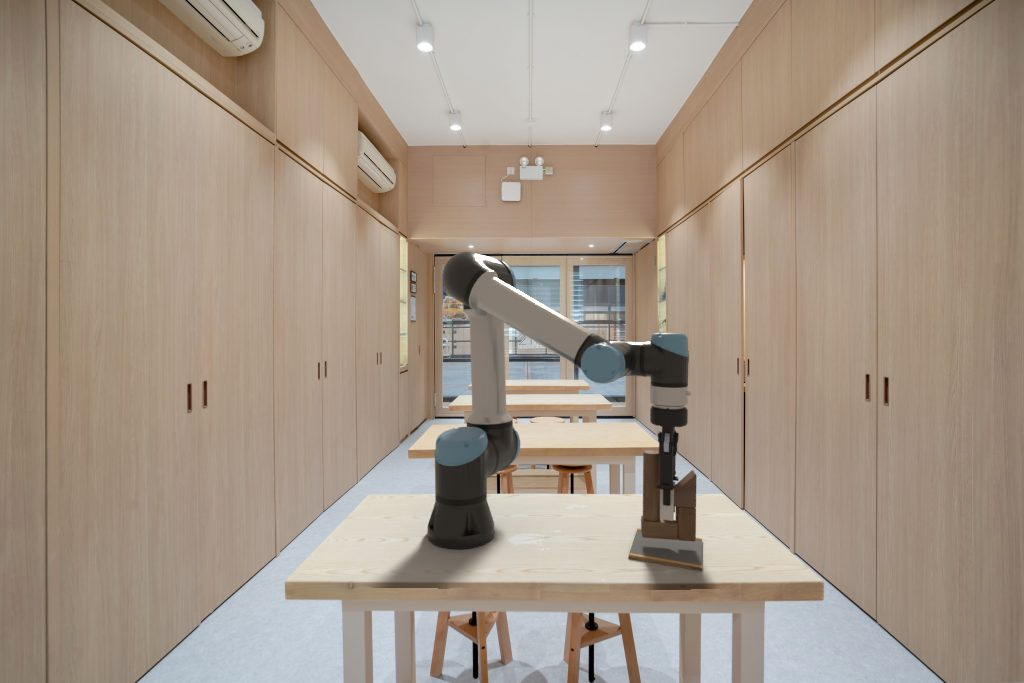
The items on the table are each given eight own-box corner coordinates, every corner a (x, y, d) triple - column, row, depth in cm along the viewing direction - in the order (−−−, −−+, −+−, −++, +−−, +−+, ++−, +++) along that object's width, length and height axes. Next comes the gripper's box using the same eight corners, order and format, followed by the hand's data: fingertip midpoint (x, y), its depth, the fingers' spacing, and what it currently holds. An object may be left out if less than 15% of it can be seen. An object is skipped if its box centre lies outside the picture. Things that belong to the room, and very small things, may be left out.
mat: (628, 557, 100) (628, 554, 100) (637, 531, 113) (637, 528, 113) (701, 570, 94) (701, 567, 94) (702, 541, 107) (702, 538, 107)
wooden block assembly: (696, 542, 101) (697, 456, 100) (642, 538, 102) (643, 453, 102) (692, 534, 104) (693, 451, 104) (640, 531, 106) (641, 449, 106)
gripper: (686, 413, 93) (684, 534, 94) (688, 400, 109) (687, 503, 110) (645, 411, 96) (644, 528, 97) (654, 399, 112) (653, 499, 113)
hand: (667, 514), depth 103 cm, fingers closed on wooden block assembly, 4 cm apart
